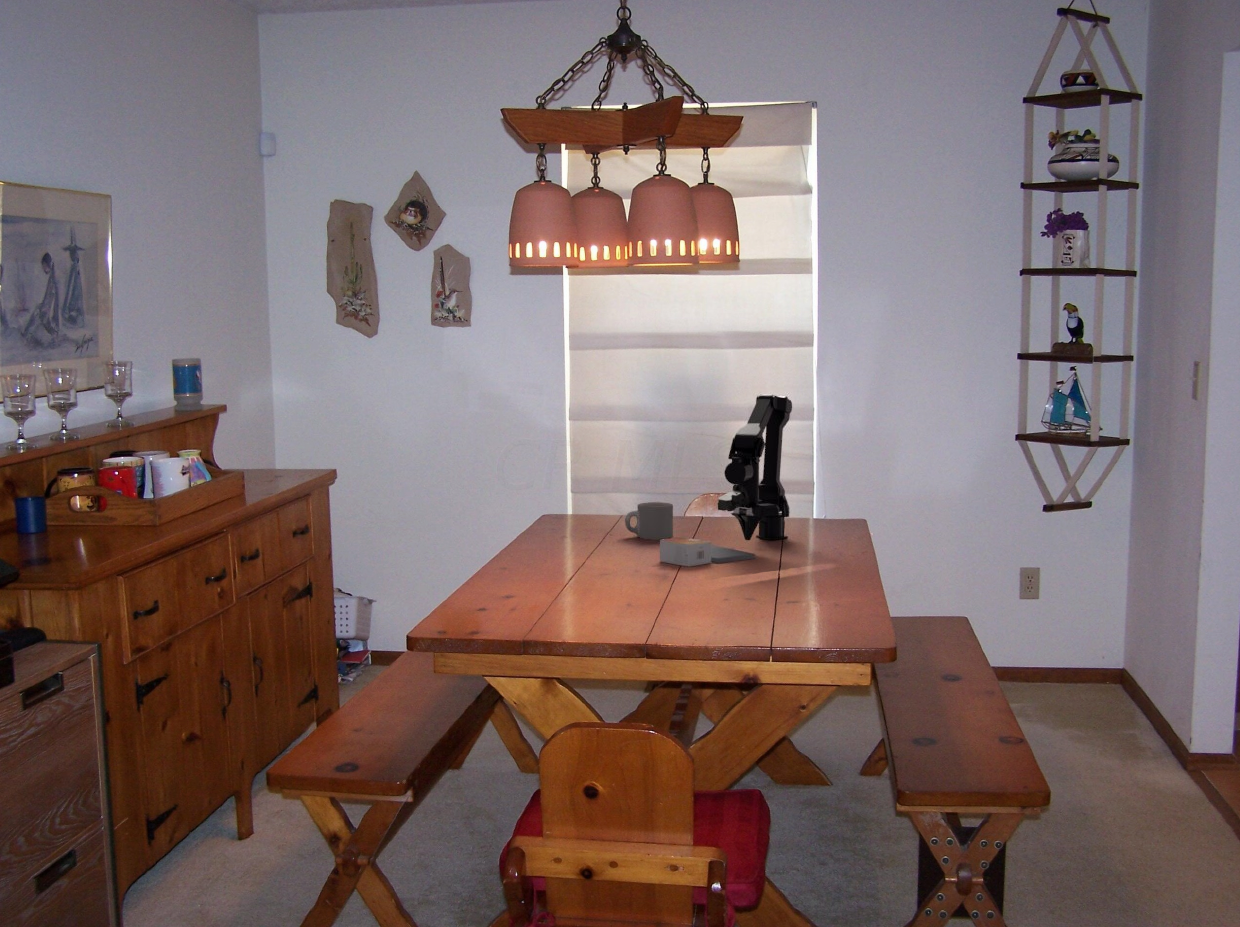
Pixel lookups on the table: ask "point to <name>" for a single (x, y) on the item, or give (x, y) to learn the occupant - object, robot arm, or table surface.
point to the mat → (728, 554)
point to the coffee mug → (652, 520)
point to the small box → (685, 551)
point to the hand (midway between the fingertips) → (747, 540)
